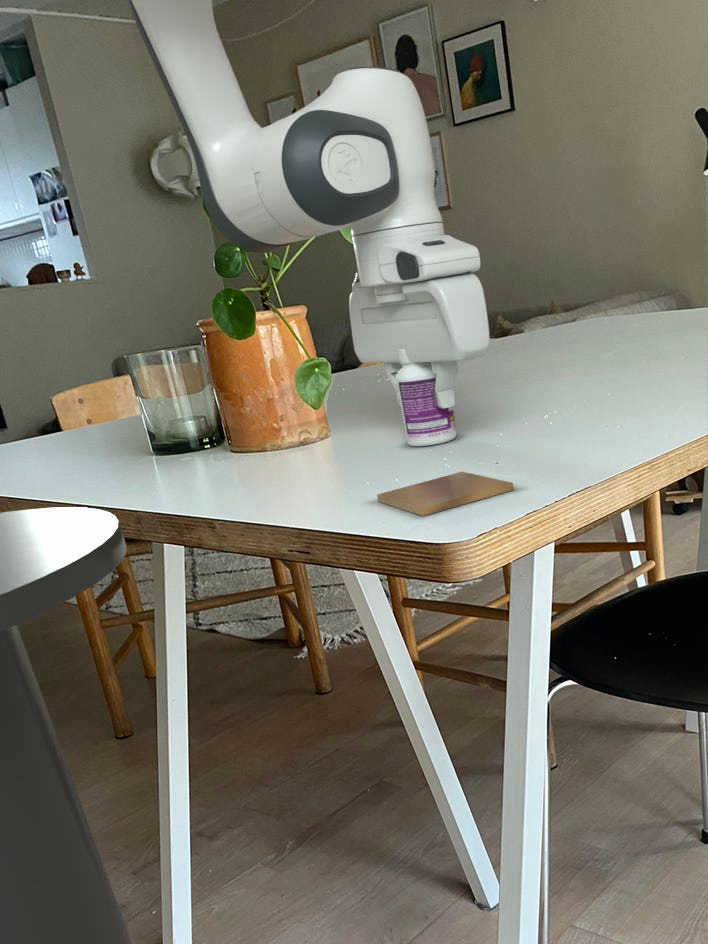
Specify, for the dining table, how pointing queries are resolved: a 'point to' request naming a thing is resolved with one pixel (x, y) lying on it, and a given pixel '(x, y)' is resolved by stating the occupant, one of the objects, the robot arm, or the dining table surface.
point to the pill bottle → (422, 405)
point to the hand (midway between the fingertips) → (426, 406)
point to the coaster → (444, 493)
